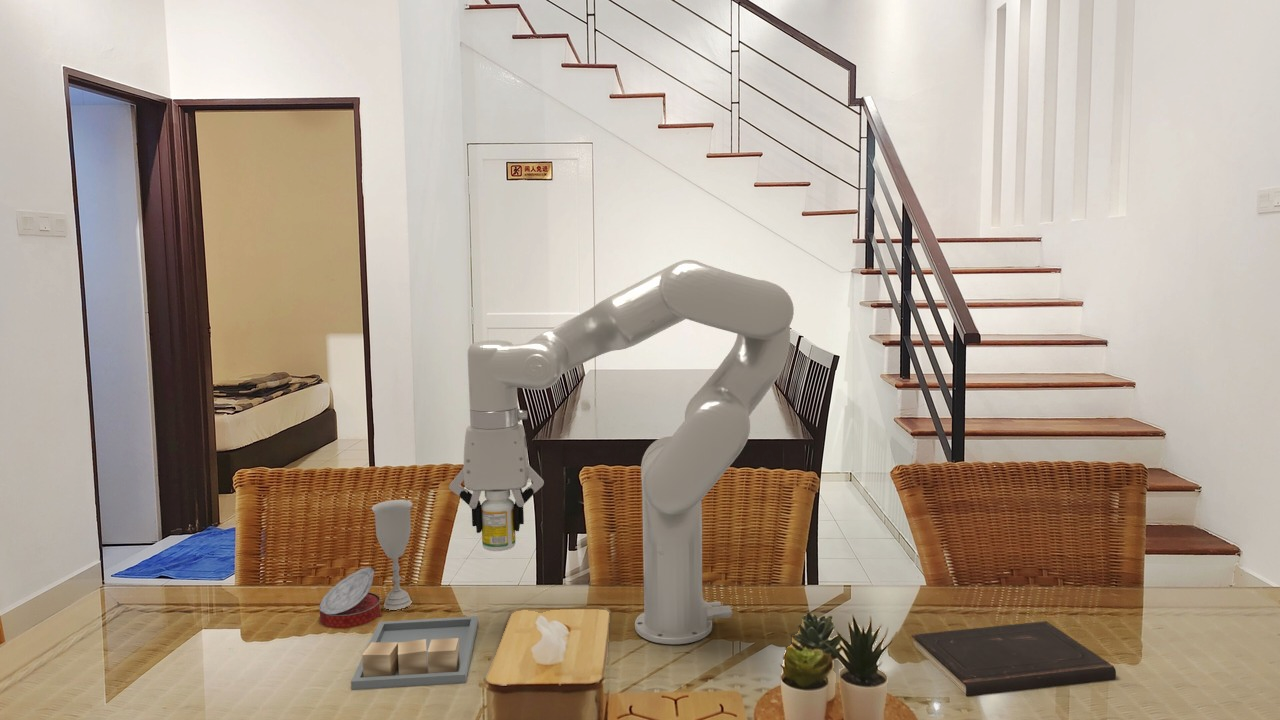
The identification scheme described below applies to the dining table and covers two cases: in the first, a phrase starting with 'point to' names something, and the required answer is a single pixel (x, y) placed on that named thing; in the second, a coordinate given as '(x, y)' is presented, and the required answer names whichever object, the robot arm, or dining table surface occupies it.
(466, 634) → the tray
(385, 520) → the chalice
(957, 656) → the hardcover book
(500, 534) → the supplement bottle
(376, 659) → the block
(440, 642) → the block
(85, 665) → the dining table surface
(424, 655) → the block
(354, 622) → the canned food
